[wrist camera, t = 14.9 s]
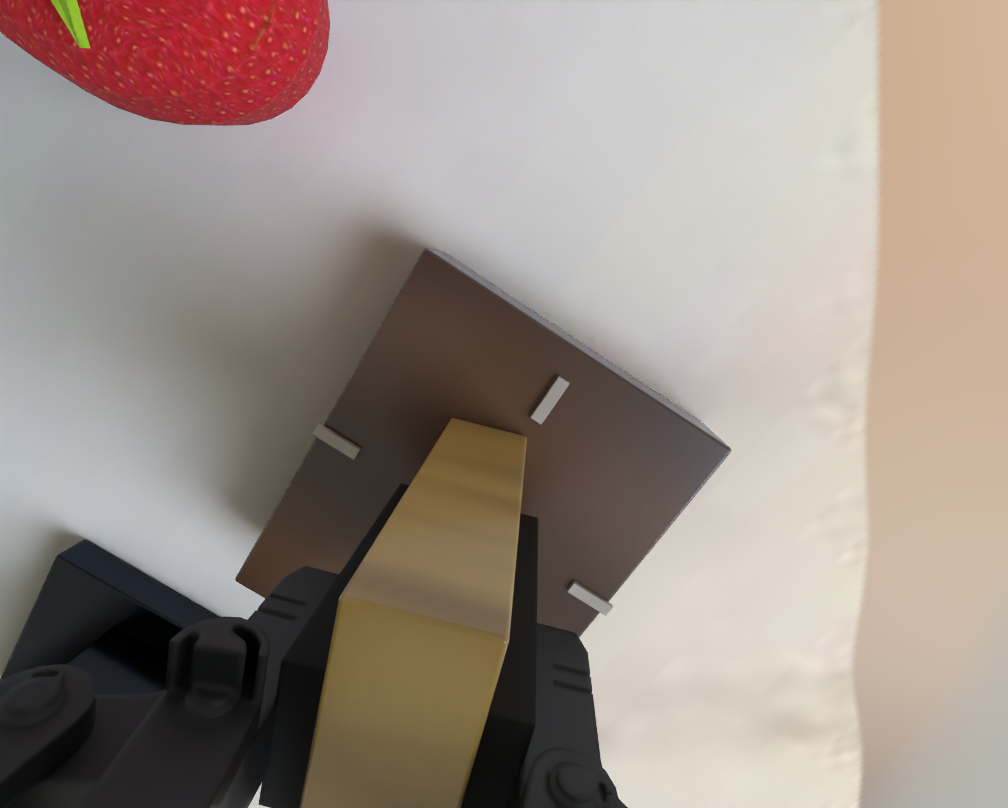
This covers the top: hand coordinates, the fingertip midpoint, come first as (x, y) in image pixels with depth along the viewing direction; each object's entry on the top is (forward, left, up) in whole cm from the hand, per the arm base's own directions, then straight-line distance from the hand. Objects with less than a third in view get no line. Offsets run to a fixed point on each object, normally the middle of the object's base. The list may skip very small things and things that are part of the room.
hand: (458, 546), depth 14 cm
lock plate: (0, 0, -4) cm, 4 cm away
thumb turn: (0, 0, -2) cm, 2 cm away
